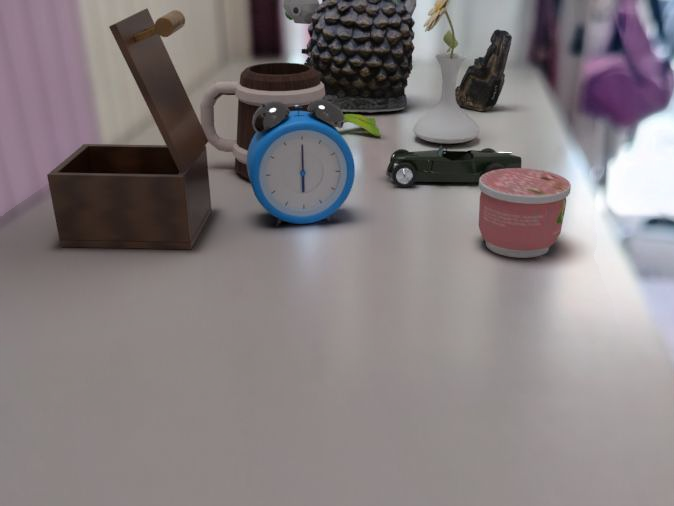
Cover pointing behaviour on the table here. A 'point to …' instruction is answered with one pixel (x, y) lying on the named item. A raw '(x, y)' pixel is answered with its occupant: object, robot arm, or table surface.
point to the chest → (129, 198)
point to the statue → (485, 75)
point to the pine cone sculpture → (363, 52)
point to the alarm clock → (300, 161)
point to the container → (521, 210)
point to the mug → (259, 101)
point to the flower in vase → (446, 94)
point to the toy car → (447, 165)
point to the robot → (301, 15)
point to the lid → (161, 82)
